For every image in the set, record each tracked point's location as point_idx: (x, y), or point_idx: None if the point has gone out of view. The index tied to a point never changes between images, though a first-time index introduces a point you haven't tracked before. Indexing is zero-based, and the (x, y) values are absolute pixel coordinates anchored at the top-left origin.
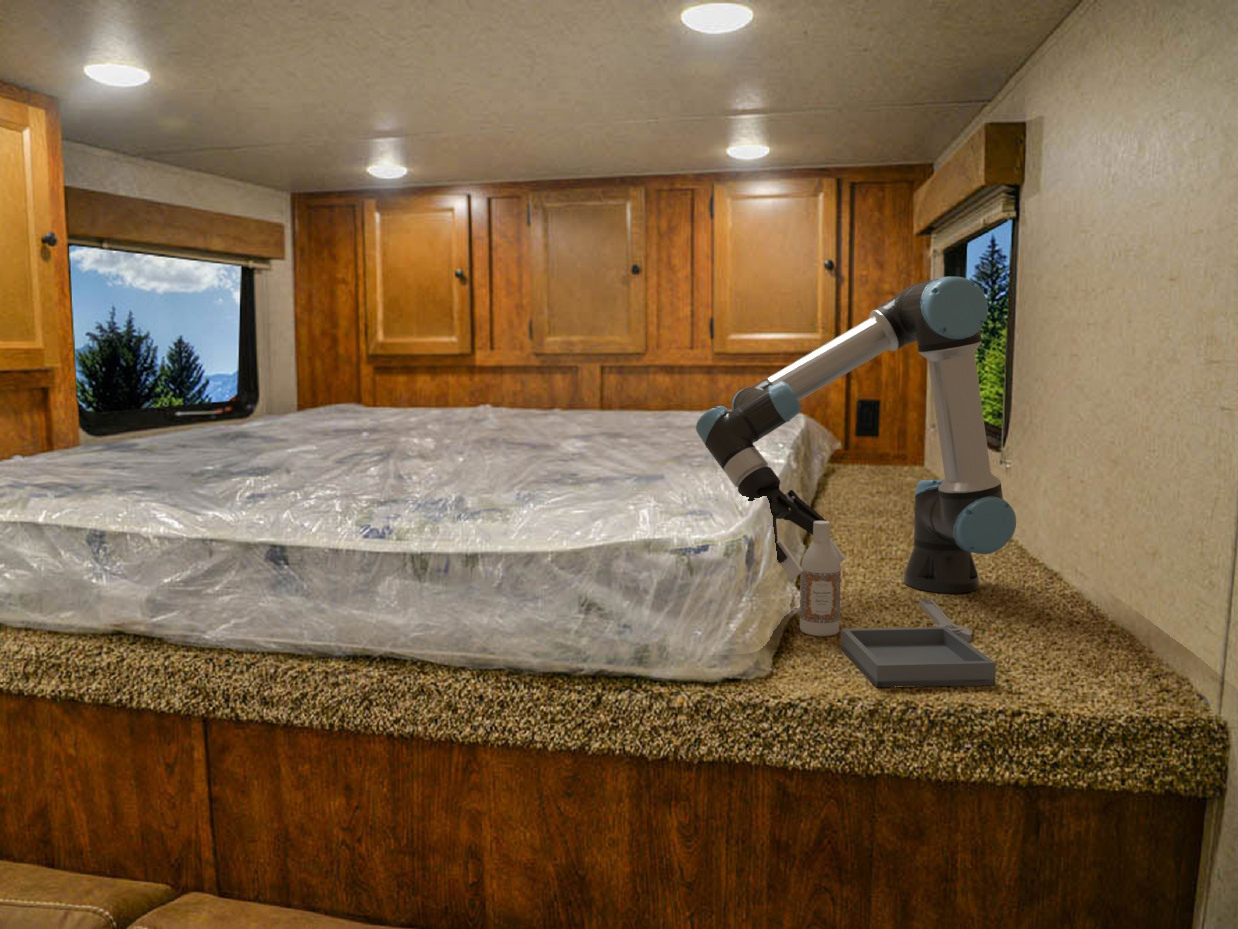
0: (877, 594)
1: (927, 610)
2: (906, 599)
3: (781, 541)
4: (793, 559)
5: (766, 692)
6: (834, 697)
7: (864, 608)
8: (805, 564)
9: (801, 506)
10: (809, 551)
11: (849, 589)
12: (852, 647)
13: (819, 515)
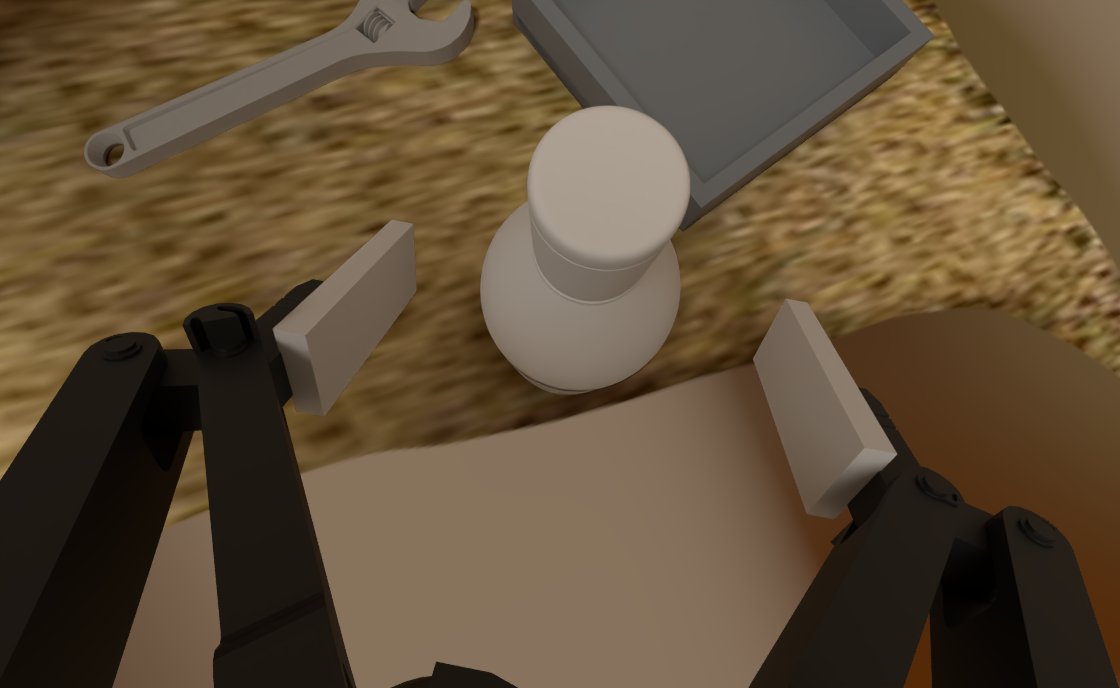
0: (49, 328)
1: (214, 125)
2: (73, 229)
3: (874, 444)
4: (827, 344)
5: (1069, 267)
6: (996, 134)
7: (251, 308)
8: (666, 337)
9: (36, 656)
10: (657, 313)
11: (22, 436)
12: (772, 158)
13: (48, 426)
